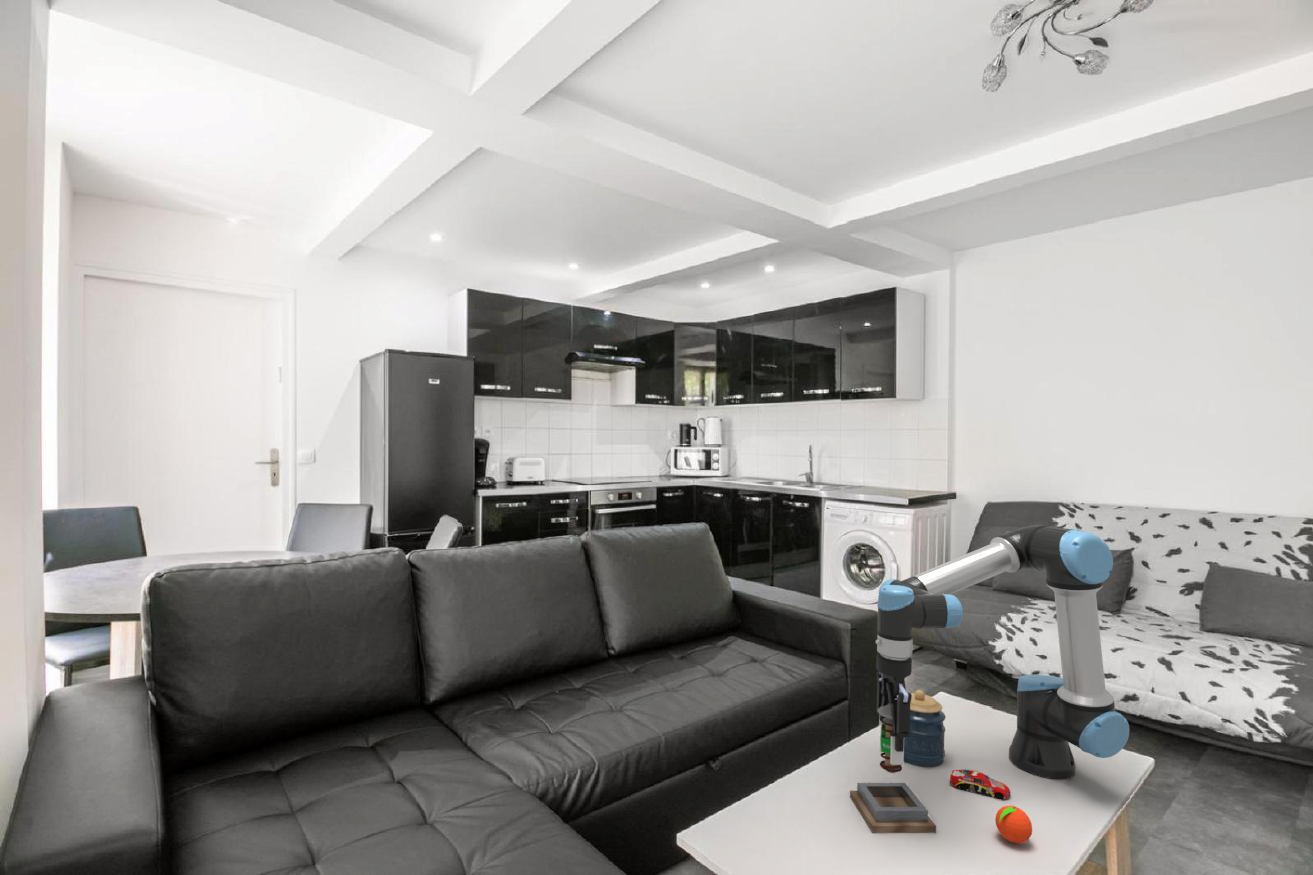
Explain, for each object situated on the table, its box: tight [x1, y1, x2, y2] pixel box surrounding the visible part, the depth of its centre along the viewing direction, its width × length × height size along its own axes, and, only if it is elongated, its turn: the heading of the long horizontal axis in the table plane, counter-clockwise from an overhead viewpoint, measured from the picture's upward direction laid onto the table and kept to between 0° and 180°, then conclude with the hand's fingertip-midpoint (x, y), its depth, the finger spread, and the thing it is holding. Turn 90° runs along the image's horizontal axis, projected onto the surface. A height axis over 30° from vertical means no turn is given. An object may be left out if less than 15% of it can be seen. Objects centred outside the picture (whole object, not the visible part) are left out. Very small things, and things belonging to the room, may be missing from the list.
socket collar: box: [856, 782, 929, 823], centre depth 145 cm, size 12×12×2 cm
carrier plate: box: [849, 790, 937, 834], centre depth 145 cm, size 14×14×2 cm
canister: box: [904, 689, 946, 767], centre depth 173 cm, size 13×13×18 cm
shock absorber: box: [878, 703, 903, 774], centre depth 145 cm, size 6×6×15 cm
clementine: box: [995, 805, 1033, 844], centre depth 136 cm, size 8×7×7 cm
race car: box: [949, 769, 1012, 801], centre depth 156 cm, size 13×5×4 cm, turn 61°
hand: (891, 757), depth 145 cm, fingers closed on shock absorber, 5 cm apart
